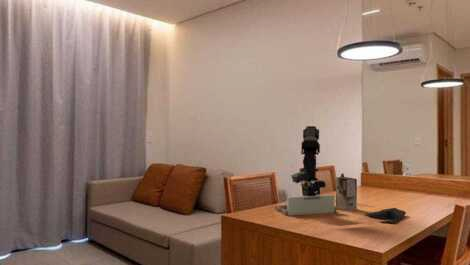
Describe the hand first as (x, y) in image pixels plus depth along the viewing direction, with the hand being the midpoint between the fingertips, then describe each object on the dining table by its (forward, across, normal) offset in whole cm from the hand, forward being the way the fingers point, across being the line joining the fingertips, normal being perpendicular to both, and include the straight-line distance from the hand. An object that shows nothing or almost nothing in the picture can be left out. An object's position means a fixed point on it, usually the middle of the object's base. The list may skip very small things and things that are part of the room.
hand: (309, 200), depth 161 cm
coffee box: (+7, -6, +24) cm, 26 cm away
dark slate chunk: (+8, +12, +32) cm, 35 cm away
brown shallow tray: (+7, -4, 0) cm, 8 cm away
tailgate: (+6, +2, 0) cm, 6 cm away
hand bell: (+8, -24, +34) cm, 42 cm away
